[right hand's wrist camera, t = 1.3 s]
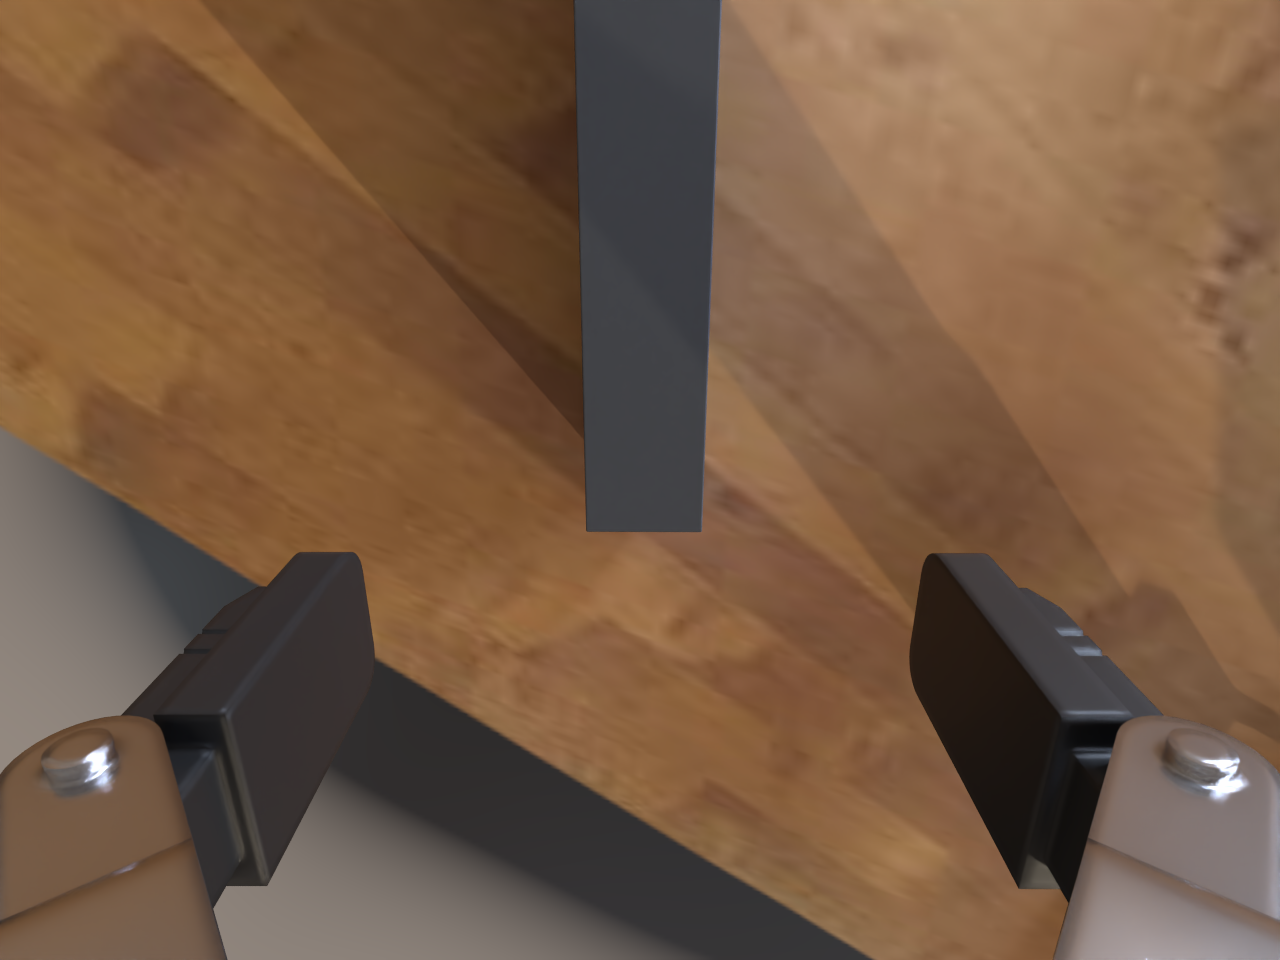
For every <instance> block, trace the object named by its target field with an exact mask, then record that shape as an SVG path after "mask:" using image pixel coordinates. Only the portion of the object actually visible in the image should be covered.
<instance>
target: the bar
mask: <svg viewBox="0 0 1280 960" xmlns="http://www.w3.org/2000/svg"><path fill="white" fill-rule="evenodd" d="M721 5H722V0H574V36H575V78H576V120H577V162H578V204H579V246H580V288H581V330H582V371H583V413H584V455H585V497H586V531H587V532H701V531H702V512H703V486H704V459H705V432H706V406H707V379H708V352H709V326H710V299H711V272H712V246H713V219H714V192H715V166H716V139H717V112H718V85H719V59H720V32H721Z"/></svg>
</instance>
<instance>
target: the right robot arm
mask: <svg viewBox="0 0 1280 960" xmlns="http://www.w3.org/2000/svg"><path fill="white" fill-rule="evenodd" d="M909 657H910V672H911V678H912V682H913V686H914V689H915V692H916V694H917V696H918V698H919V700H920V701H921V703H922V705H923V707H924V709H925V711H926V713H927V715H928V717H929V719H930V721H931V722H932V724H933V726H934V728H935V730H936V732H937V734H938V736H939V738H940V740H941V741H942V743H943V745H944V747H945V749H946V751H947V753H948V755H949V757H950V759H951V760H952V762H953V764H954V766H955V768H956V770H957V772H958V774H959V776H960V778H961V780H962V781H963V783H964V785H965V787H966V789H967V791H968V793H969V795H970V797H971V799H972V800H973V802H974V804H975V806H976V808H977V810H978V812H979V814H980V816H981V818H982V819H983V821H984V823H985V825H986V827H987V829H988V831H989V833H990V835H991V837H992V839H993V840H994V842H995V844H996V846H997V848H998V850H999V852H1000V854H1001V856H1002V858H1003V859H1004V861H1005V863H1006V865H1007V867H1008V869H1009V871H1010V873H1011V875H1012V877H1013V878H1014V880H1015V882H1016V884H1017V886H1018V888H1019V889H1061V891H1062V893H1063V894H1064V896H1065V898H1066V899H1067V901H1068V903H1069V904H1068V907H1067V911H1066V914H1065V918H1064V921H1063V925H1062V928H1061V932H1060V935H1059V939H1058V942H1057V946H1056V949H1055V953H1054V957H1053V960H1280V774H1279V773H1278V771H1277V770H1276V769H1275V768H1274V767H1273V766H1272V765H1271V764H1270V763H1269V762H1268V761H1267V760H1266V759H1265V758H1264V757H1263V756H1261V755H1260V754H1259V753H1258V752H1256V751H1255V750H1253V749H1252V748H1250V747H1249V746H1247V745H1246V744H1244V743H1243V742H1241V741H1239V740H1237V739H1235V738H1234V737H1232V736H1230V735H1228V734H1225V733H1223V732H1221V731H1219V730H1217V729H1214V728H1211V727H1209V726H1206V725H1203V724H1200V723H1197V722H1193V721H1190V720H1186V719H1181V718H1176V717H1169V716H1164V715H1163V714H1162V713H1161V712H1160V711H1159V710H1158V709H1157V708H1156V707H1155V706H1154V705H1153V704H1152V703H1151V702H1150V701H1149V700H1148V699H1147V697H1146V696H1145V695H1144V694H1143V693H1142V692H1141V691H1140V690H1139V689H1138V688H1137V687H1136V686H1135V685H1134V684H1133V683H1132V682H1131V681H1130V680H1129V679H1128V678H1127V677H1126V676H1125V674H1124V673H1123V672H1122V671H1121V670H1120V669H1119V668H1118V667H1117V666H1116V665H1115V664H1114V663H1113V662H1112V661H1111V660H1110V659H1109V658H1108V657H1107V656H1102V650H1101V649H1100V648H1099V647H1098V646H1097V645H1096V644H1095V643H1094V642H1093V641H1092V640H1091V639H1090V638H1089V637H1088V636H1083V631H1082V629H1081V628H1080V627H1079V626H1078V625H1077V624H1076V623H1075V622H1074V621H1073V620H1072V619H1071V618H1070V617H1069V616H1068V615H1067V614H1066V613H1065V612H1064V611H1063V610H1062V609H1061V608H1060V607H1058V606H1057V605H1055V604H1053V603H1052V602H1050V601H1048V600H1046V599H1045V598H1043V597H1041V596H1040V595H1038V594H1036V593H1034V592H1033V591H1031V590H1029V589H1028V588H1018V587H1017V586H1016V585H1015V584H1014V583H1013V582H1012V580H1011V579H1010V578H1009V577H1008V576H1007V575H1006V574H1005V573H1004V572H1003V570H1002V569H1001V568H1000V567H999V566H998V565H997V564H996V563H995V562H994V560H993V559H992V558H991V557H990V556H989V555H987V554H983V553H932V554H929V555H928V556H927V558H926V559H925V562H924V564H923V568H922V573H921V579H920V586H919V592H918V599H917V605H916V612H915V618H914V625H913V631H912V638H911V644H910V656H909ZM374 658H375V653H374V642H373V636H372V629H371V623H370V616H369V609H368V603H367V596H366V590H365V583H364V576H363V570H362V565H361V562H360V560H359V557H358V556H357V555H356V554H355V553H353V552H299V553H297V554H296V555H295V556H294V557H293V558H292V559H291V560H290V561H289V562H288V563H287V565H286V566H285V567H284V568H283V569H282V570H281V571H280V572H279V574H278V575H277V576H276V577H275V578H274V579H273V580H272V581H271V582H270V584H269V585H268V586H267V587H257V588H255V589H253V590H251V591H250V592H248V593H246V594H245V595H243V596H241V597H240V598H238V599H236V600H234V601H233V602H231V603H229V604H228V605H226V606H224V607H223V608H222V609H221V610H220V612H219V613H218V614H217V615H216V616H215V617H214V618H213V619H212V620H211V621H210V622H209V623H208V624H207V625H206V626H205V627H204V628H203V632H202V634H198V635H197V636H196V637H195V638H194V639H193V640H192V641H191V642H190V643H189V644H188V645H187V646H186V648H185V649H184V654H179V655H178V656H177V657H176V658H175V659H174V660H173V661H172V662H171V663H170V664H169V665H168V666H167V667H166V669H165V670H164V671H163V672H162V673H161V674H160V675H159V676H158V677H157V678H156V679H155V680H154V681H153V682H152V683H151V684H150V685H149V686H148V688H147V689H146V690H145V691H144V692H143V693H142V694H141V695H140V696H139V697H138V698H137V699H136V700H135V701H134V702H133V703H132V704H131V705H130V707H129V708H128V709H127V710H126V711H125V712H124V713H123V714H122V715H121V716H111V717H104V718H99V719H94V720H90V721H87V722H83V723H80V724H77V725H74V726H71V727H69V728H66V729H63V730H61V731H59V732H57V733H55V734H52V735H50V736H48V737H46V738H45V739H43V740H41V741H39V742H37V743H36V744H34V745H33V746H31V747H30V748H28V749H27V750H25V751H24V752H22V753H21V754H20V755H19V756H17V757H16V758H15V759H14V760H13V761H12V762H11V763H10V764H9V765H8V766H7V767H6V768H5V769H4V770H3V772H2V773H1V774H0V960H227V957H226V953H225V949H224V946H223V942H222V939H221V935H220V932H219V928H218V925H217V921H216V918H215V914H214V911H213V908H214V906H215V905H216V903H217V901H218V899H219V898H220V896H221V894H222V892H223V891H224V889H225V887H226V886H267V885H268V883H269V881H270V879H271V878H272V876H273V874H274V872H275V870H276V868H277V866H278V864H279V862H280V860H281V858H282V856H283V854H284V852H285V851H286V849H287V847H288V845H289V843H290V841H291V839H292V837H293V835H294V833H295V831H296V829H297V827H298V826H299V824H300V822H301V820H302V818H303V816H304V814H305V812H306V810H307V808H308V806H309V804H310V802H311V801H312V799H313V797H314V795H315V793H316V791H317V789H318V787H319V785H320V783H321V781H322V779H323V777H324V775H325V774H326V772H327V770H328V768H329V766H330V764H331V762H332V760H333V758H334V756H335V754H336V752H337V750H338V748H339V747H340V745H341V743H342V741H343V739H344V737H345V735H346V733H347V731H348V729H349V727H350V725H351V723H352V722H353V719H354V718H355V716H356V714H357V712H358V710H359V708H360V706H361V704H362V702H363V700H364V698H365V696H366V695H367V693H368V690H369V688H370V685H371V681H372V677H373V671H374Z"/></svg>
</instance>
